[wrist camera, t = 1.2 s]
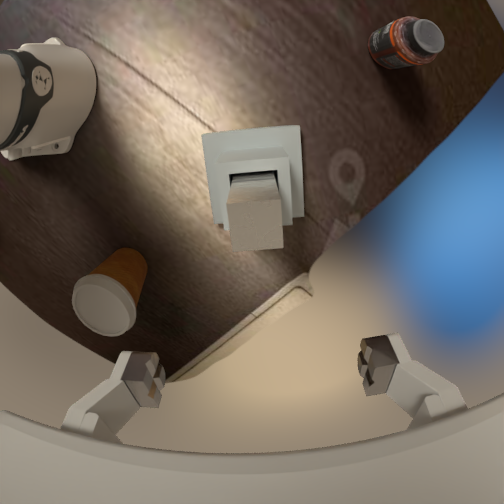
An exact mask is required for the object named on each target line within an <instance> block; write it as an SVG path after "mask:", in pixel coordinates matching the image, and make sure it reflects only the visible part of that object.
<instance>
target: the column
mask: <svg viewBox="0 0 504 504" xmlns="http://www.w3.org/2000/svg"><path fill="white" fill-rule="evenodd" d="M226 207H227V214H228V222H229V229H230V236H231V244H232V251H233V252H240V251H252V250H265V249H277V248H284V247H283V228H282V211H281V198H280V195H279V191H278V187H277V184H276V180H275V177H274V173H273V170H268V171H256V172H244V173H234V176H233V180H232V184H231V187H230V191H229V195H228V199H227V203H226Z"/></svg>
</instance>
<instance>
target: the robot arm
mask: <svg viewBox="0 0 504 504" xmlns="http://www.w3.org/2000/svg"><path fill="white" fill-rule="evenodd" d="M95 94H96V74H95V70H94V67H93V64H92V62H91V61H90V59H89V58H88V56H87V55H86V54H85V53H83V52H82V51H80V50H78V49H76V48H72V47H68V46H66V45H65V44H64V43H63V42H62V41H61V40H60V39H59V38H50V39H49V40H47V41H46V42H45V43H28V44H24V45H22V46H21V48H19V49H18V50H17V49H10V50H3V51H0V151H1V153H2V154H3V156H4V157H5V158H9V160H15V159H18V158H21V157H25V156H35V155H48V154H62V153H67V152H68V151H69V150H70V149H71V147H72V144H73V141H74V137H75V134H76V132H77V131H78V129H79V128H80V127H81V125H82V124H83V123H84V121H85V120H86V118H87V117H88V115H89V113H90V111H91V108H92V106H93V103H94V99H95ZM57 144H58V145H59V147H57ZM360 347H361V351H360V352H359V354H358V370H359V373H360V375H361V376H362V377H363V378H364V381H363V386H364V390H365V393H366V396H371V395H377V394H383V393H386V394H387V395H388V396H389V397H390V398H391V399H392V400H393V401H394V402H396V403H397V404H398V405H399V406H400V407H401V408H402V409H403V410H404V411H406V412H407V413H408V414H409V415H410V416H411V417H412V418H413V420H412V422H411V424H410V425H409V427H408V428H407V430H405V431H401V432H397V433H393V434H390V435H385V436H381V437H377V438H372V439H368V440H363V441H358V442H353V443H347V444H342V445H336V446H329V447H322V448H314V449H306V450H296V451H284V452H270V453H231V454H230V453H226V454H225V453H198V452H183V451H171V450H162V449H154V448H146V447H139V446H133V445H127V444H123V443H122V442H121V441H120V439H119V438H118V437H117V436H116V433H117V432H118V431H119V430H120V429H121V428H122V427H123V426H124V425H125V424H126V423H127V422H128V421H129V420H130V418H131V417H132V416H133V415H134V414H135V413H136V412H137V411H138V410H139V409H140V407H150V408H159V404H160V400H161V396H162V395H161V394H160V390H161V389H162V388H163V387H164V385H165V371H164V368H163V366H162V365H161V364H159V363H158V361H159V357H158V355H157V353H152V352H134V351H133V352H131V351H122V352H121V353H120V355H119V358H118V360H117V362H116V364H115V367H114V369H113V371H112V374H111V376H110V379H106V380H105V381H103V382H102V383H101V384H99V385H98V386H97V387H95V388H94V389H93V390H92V391H90V392H89V393H88V394H86V395H85V396H84V397H82V398H81V399H80V400H79V401H77V402H76V403H75V404H73V405H72V406H71V407H70V408H69V410H68V412H67V415H66V417H65V419H64V421H63V424H62V426H61V429H58V428H54V427H51V426H48V425H45V424H42V423H39V422H36V421H33V420H30V419H27V418H25V417H22V416H20V415H17V414H14V413H12V412H10V411H6V410H2V411H0V504H504V393H502V394H501V395H498V396H496V397H494V398H492V399H490V400H488V401H485V402H483V403H481V404H479V405H477V406H474V407H472V408H469V409H468V408H467V406H466V404H465V402H464V400H463V398H462V396H461V394H460V392H459V390H458V388H457V386H455V385H454V384H452V383H451V382H449V381H448V380H446V379H444V378H443V377H441V376H439V375H438V374H436V373H435V372H433V371H432V370H430V369H428V368H427V367H425V366H424V365H422V364H421V363H419V362H417V361H416V360H414V361H412V359H411V357H410V355H409V353H408V351H407V349H406V347H405V345H404V343H403V341H402V339H401V337H400V335H399V334H398V333H393V334H387V335H381V336H375V337H370V338H364V339H362V340H361V344H360Z"/></svg>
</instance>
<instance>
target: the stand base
mask: <svg viewBox="0 0 504 504" xmlns="http://www.w3.org/2000/svg"><path fill="white" fill-rule="evenodd" d="M202 143H203V151H204V158H205V165H206V172H207V179H208V186H209V193H210V200H211V207H212V213H213V220H214V224H221V223H223V225H224V230H230V229H229V222H228V214H227V207H226V203H227V199H228V195H229V191H230V187H231V184H232V180H233V176H234V173H244V172H256V171H268V170H273V173H274V177H275V180H276V184H277V187H278V191H279V195H280V198H281V211H282V226H284V225H293V222H292V217H304V197H303V173H302V153H301V137H300V126H299V125H292V126H275V127H261V128H249V129H239V130H230V131H221V132H213V133H205V134H202Z"/></svg>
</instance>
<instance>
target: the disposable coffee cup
mask: <svg viewBox="0 0 504 504" xmlns="http://www.w3.org/2000/svg"><path fill="white" fill-rule="evenodd" d="M146 274H147V263H146V261H145V259H144V257H143V256H142V255H141V254H140V253H139V252H137V251H136V250H134V249H131V248H120V249H118V250H116V251H115V252H114V253H113V254H112V255H111V256H110V257H108V258H107V259H106V260H105V261H104V262H102V263H101V264H100V265H99V266H98V267H97V268H96V269H94V270H93V271H92V272H91V273H90V274H89V275H87V276H84V277H83V278H81V279H79V280H78V281H77V283H76V284H75V286H74V290H73V296H72V304H73V308H74V310H75V312H76V314H77V316H78V318H79V319H80V320H81V321H82V322H83V324H84V325H86V326H87V327H88V328H90V329H91V330H93V331H94V332H96V333H98V334H101V335H104V336H119V335H121V334H123V333H124V332H125V331H127V330H129V329H130V328H131V327H132V326H133V325H134V323H135V319H136V307H137V303H138V300H139V297H140V293H141V290H142V287H143V284H144V280H145V277H146Z"/></svg>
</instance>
